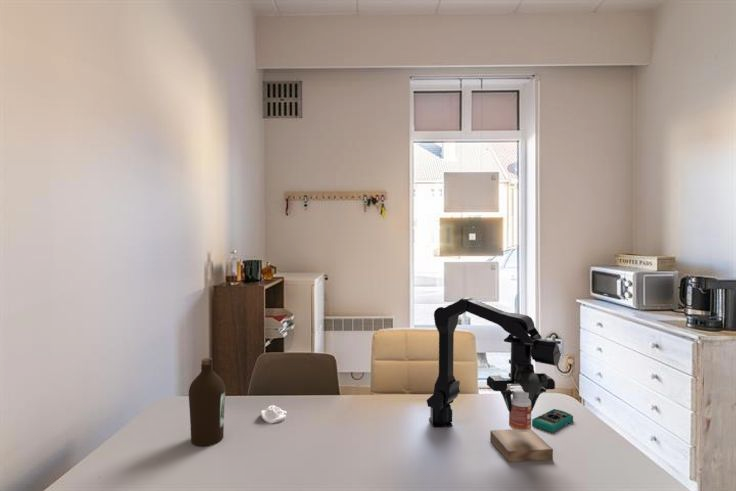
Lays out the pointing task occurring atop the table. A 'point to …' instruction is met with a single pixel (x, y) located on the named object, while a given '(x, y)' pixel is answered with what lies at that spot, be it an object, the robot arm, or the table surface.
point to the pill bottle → (520, 411)
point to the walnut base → (521, 445)
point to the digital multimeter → (552, 420)
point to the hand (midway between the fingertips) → (520, 411)
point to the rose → (273, 414)
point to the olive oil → (207, 406)
